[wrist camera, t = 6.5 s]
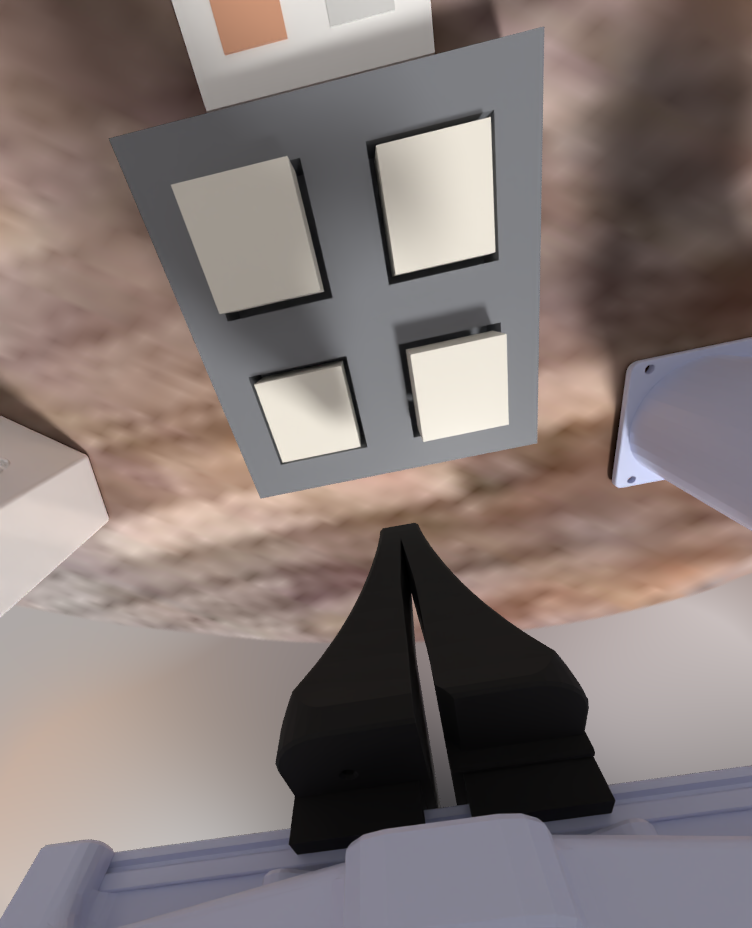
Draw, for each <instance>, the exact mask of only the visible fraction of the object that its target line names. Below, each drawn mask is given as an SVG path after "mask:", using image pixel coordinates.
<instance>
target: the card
mask: <svg viewBox="0 0 752 928" xmlns="http://www.w3.org/2000/svg"><path fill="white" fill-rule="evenodd" d="M172 3H173V7H174V10H175V13H176V16H177V19H178V22H179V26H180V29H181V32H182V35H183V38H184V42H185V45H186V48H187V51H188V54H189V57H190V61H191V64H192V67H193V70H194V73H195V77H196V80H197V83H198V86H199V89H200V92H201V96H202V99H203V102H204V105H205V108H206V111H207V113H210V112H214V111H218V110H221V109H225V108H229V107H233V106H237V105H241V104H245V103H249V102H253V101H256V100H260V99H264V98H268V97H272V96H276V95H280V94H284V93H288V92H291V91H295V90H299V89H303V88H307V87H311V86H315V85H319V84H323V83H326V82H330V81H334V80H338V79H342V78H346V77H350V76H354V75H358V74H361V73H365V72H369V71H373V70H377V69H381V68H385V67H389V66H393V65H396V64H400V63H404V62H408V61H412V60H416V59H420V58H424V57H428V56H431V55H434V53H435V48H434V36H433V25H432V13H431V1H430V0H172Z"/></svg>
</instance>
